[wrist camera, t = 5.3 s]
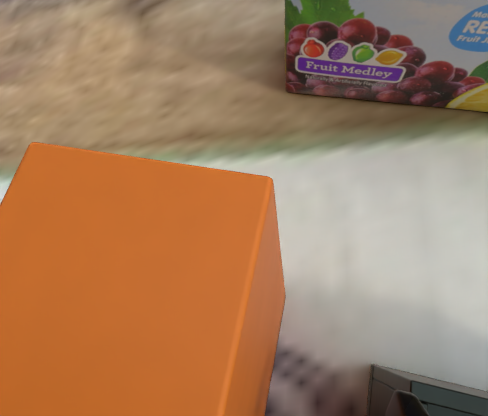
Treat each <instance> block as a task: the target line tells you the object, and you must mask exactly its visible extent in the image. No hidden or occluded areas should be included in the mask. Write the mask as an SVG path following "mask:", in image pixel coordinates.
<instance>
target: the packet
mask: <svg viewBox="0 0 488 416" xmlns="http://www.w3.org/2000/svg"><path fill="white" fill-rule="evenodd" d="M284 303H285V288H284V279H283V269H282V260H281V251H280V241H279V232H278V222H277V213H276V204H275V194H274V185H273V180H272V179H271V178H270V177H267V176H261V175H254V174H247V173H241V172H234V171H227V170H220V169H213V168H207V167H200V166H193V165H186V164H180V163H173V162H166V161H159V160H152V159H146V158H139V157H132V156H125V155H119V154H112V153H105V152H98V151H91V150H85V149H78V148H71V147H64V146H58V145H51V144H44V143H37V142H32V143H31V144H30V145H29V146H28V148H27V150H26V152H25V154H24V157H23V159H22V161H21V163H20V165H19V167H18V169H17V171H16V173H15V175H14V177H13V179H12V182H11V184H10V186H9V188H8V190H7V192H6V194H5V196H4V198H3V200H2V202H1V204H0V416H265V411H266V405H267V399H268V394H269V388H270V382H271V377H272V371H273V365H274V360H275V354H276V348H277V343H278V337H279V331H280V326H281V320H282V314H283V309H284Z"/></svg>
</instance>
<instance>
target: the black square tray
mask: <svg viewBox="0 0 488 416" xmlns="http://www.w3.org/2000/svg"><path fill="white" fill-rule="evenodd" d="M396 390H402V391H406V392H410V393H413V394H414V395H416V396H417V397H418V399H419V400H420V402H421V403H422V405H423V406H424V408H425V409H426V411H427V412H428V414H429V415H430V416H488V392H487V391H482V390H478V389H474V388H470V387H466V386H462V385H458V384H453V383H449V382H445V381H441V380H437V379H433V378H429V377H425V376H420V375H416V374H412V373H408V372H404V371H400V370H396V369H391V368H387V367H383V366H379V365H375V364H371V371H370V382H369V393H368V404H367V415H366V416H385V414H386V410H387V408H388V405H389V403H390V400H391V398H392V395H393V393H394V391H396Z"/></svg>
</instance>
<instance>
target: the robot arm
mask: <svg viewBox="0 0 488 416" xmlns="http://www.w3.org/2000/svg"><path fill="white" fill-rule="evenodd" d="M385 416H430V415H429V414H428V412H427V411H426V409H425V408H424V406H423V405H422V403H421V402H420V400H419V399H418V397H417V396H416V395H414V394H413V393H410V392H406V391H402V390H396V391H394V393H393V395H392V398H391V400H390V403H389V405H388V408H387V410H386V414H385Z"/></svg>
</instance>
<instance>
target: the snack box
mask: <svg viewBox="0 0 488 416" xmlns="http://www.w3.org/2000/svg"><path fill="white" fill-rule="evenodd" d="M285 79H286V91H287V92H290V93H300V94H313V95H322V96H332V97H342V98H352V99H363V100H373V101H382V102H392V103H402V104H411V105H421V106H432V107H444V108H454V109H463V110H472V111H481V112H488V0H285Z"/></svg>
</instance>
